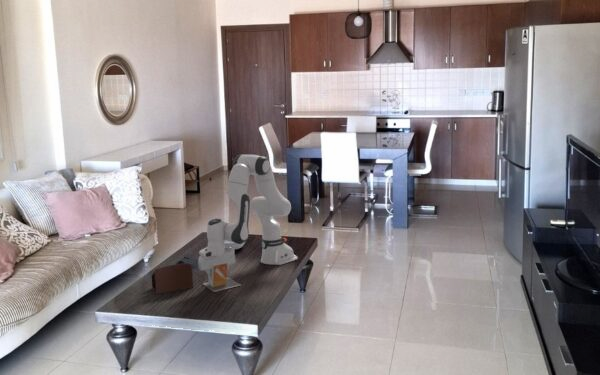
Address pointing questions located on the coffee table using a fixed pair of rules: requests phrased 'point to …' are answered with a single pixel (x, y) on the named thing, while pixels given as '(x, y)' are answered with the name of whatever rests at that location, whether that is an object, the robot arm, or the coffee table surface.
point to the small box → (218, 274)
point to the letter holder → (172, 278)
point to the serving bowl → (232, 245)
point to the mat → (228, 285)
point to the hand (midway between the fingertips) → (217, 274)
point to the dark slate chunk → (189, 262)
